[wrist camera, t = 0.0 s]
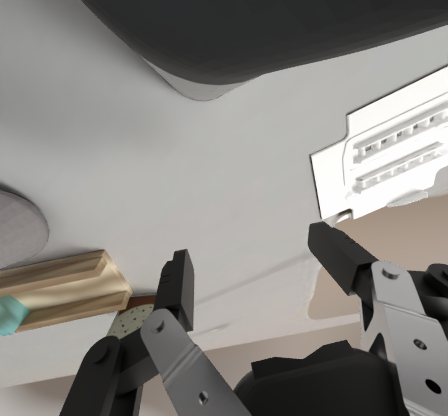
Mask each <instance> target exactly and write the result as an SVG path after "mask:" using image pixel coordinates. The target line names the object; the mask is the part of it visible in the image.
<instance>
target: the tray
mask: <svg viewBox="0 0 448 416" xmlns="http://www.w3.org/2000/svg"><path fill="white" fill-rule="evenodd" d="M433 116H434V117H433ZM431 117H433V120H432V121H430V118H431ZM346 120H347V135H346V137H345V138H344V139H343V140H341V141H339V142H337V143H335V144H333V145H331V146H329V147H327V148H325V149H322V150H320V151H318V152H316V153H314V154H312V155H310V156H311V157H312V163H313V169H314V175H315V181H316V187H317V192H318V198H319V204H320V210H321V215H322V220H323V219H325V218H327V217H330V216H332V215H334V214H337V213H339V212H341V211H343V210H346V209H348V208H351V210H352V213H350V214H347V215H345V216H343V217H341V218H340V219H339V220H338V221H337V222H339V221H342V220H344V219H346V218H351V219H356V218H358V217H361V216H363V215H365V214H368V213H370V212H372V211H375V210H377V209H379V208H382V207H384V206H386V205H388V207H392V206H394V207H395V206H397V205H398V206H401V205H406V204H409V203H410V202H413V201H419V200H421V199H422V198H427V197H428V195H427V194H426V193H428V192H425V191H422V190H425V189H426V188H429V187H431V186H433V183H434V179H435V175H436V173H437V171H438V170H439V169H441V168H442V167H445V166H447V165H448V67H446V68H444V69H441V70H440V71H438V72H435V73H433V74H431V75H429V76H427V77H425V78H423V79H421V80H419V81H417V82H415V83H413V84H411V85H409V86H407V87H405V88H403V89H401V90H399V91H397V92H395V93H393V94H391V95H389V96H386V97H384V98H382V99H380V100H378V101H376V102H374V103H372V104H370V105H368V106H366V107H364V108H362V109H360V110H358V111H356V112H354V113H352V114H350V115H346ZM415 124H417V128H415V129H413V125H415ZM400 131H402V134H401V135H400V136H398V137H397V133H398V132H400ZM385 138H386V142H385V143H383V144H381V140H383V139H385ZM370 145H371V149H370V150H368V151H366V152H365V147H368V146H370ZM433 148H434V149H433ZM417 155H419V156H417ZM404 161H405V162H404ZM402 162H403V163H402ZM389 168H390V169H389ZM358 179H359V180H358ZM361 179H362V181H361ZM419 191H420V192H419ZM423 192H425V193H423ZM412 194H413V195H412ZM424 195H425V196H424ZM405 197H406V198H405ZM398 200H399V201H398ZM396 201H397V202H396ZM389 204H390V205H389Z"/></svg>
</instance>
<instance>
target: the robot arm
mask: <svg viewBox="0 0 448 416" xmlns="http://www.w3.org/2000/svg"><path fill="white" fill-rule="evenodd" d="M81 1H82V2H83V3H84V4H85V5H86V6H87V7H88V8H89V9H90V10H91V11H92V12H93V13H94V14H95V15H96V16H97V17H98V18H99V19H100V20H101V21H102V22H103V23H104V24H105V25H106V26H107V27H108V28H109V29H111V30H112V31H113V32H114V33H115V34H116V35H117V36H118V37H119V38H120V39H122V40H123V41H124V42H125V43H126V44H127V45H128V46H129V47H130V48H131V49H133V50H134V51H135V52H136V53H137V54H138V55H139V56H140V57H141V58H143V59H144V60H145V61H146V62H147V63H148V64H149V65H150V66H151V67H152V68H154V69H155V70H156V71H157V72H158V73H159V74H160V75H161V76H162V77H163V78H164V79H165V80H166V81H167V82H168V83H170V84H171V85H172V86H173V87H174V88H175V89H176V90H177V91H178V92H180V93H181V94H182V95H184V96H186V97H188V98H190V99H193V100H197V101H209V100H213V99H216V98H218V97H220V96H222V95H223V94H225V93H227V92H229V91H231V90H233V89H235V88H237V87H239V86H241V85H243V84H245V83H247V82H249V81H251V80H253V79H255V78H257V77H259V76H261V75H263V74H266V73H270V72H274V71H278V70H283V69H287V68H291V67H295V66H300V65H304V64H309V63H313V62H318V61H322V60H326V59H331V58H335V57H339V56H343V55H347V54H351V53H355V52H359V51H363V50H367V49H370V48H374V47H377V46H381V45H385V44H388V43H391V42H395V41H398V40H401V39H404V38H408V37H411V36H414V35H417V34H421V33H424V32H427V31H430V30H433V29H436V28H439V27H442V26H445V25H448V0H81ZM308 247H309V249H310V251H311V252H312V253H313V255H314V256H315V257H316V258H317V259H318V261H319V262H320V263H321V264H322V265H323V267H324V268H325V269H326V270H327V271H328V273H329V274H330V275H331V276H332V277H333V279H334V280H335V281H336V282H337V283H338V285H339V286H340V287H341V288H342V289H343V291H344V292H345V293H346V294H347V295H348V296H350V295H354V294H357V295H358V296H359V297H360V298H359V312H360V323H361V336H362V337H361V344H360V349H356V348H352V347H351V346H350V344H349V343H348V341H347V340H344V341H340V342H335V343H331V344H327V345H323V346H322V347H320V348H319V349H317V350H316V351H315V352H313V353H312V354H310V355H309V356H307V357H306V358H304V359H292V358H281V357H273V358H269V359H265V360H261V361H256V362H252V363H251V366H252V371H250V372H249V373H247V374H246V375H245V376H244V377H243V378H242V379H241V380H240V382H239V383H238V384H237V386H236V387H235V389H234V390H232V389H231V388H230V386H229V385H228V384H227V382H226V381H225V380H224V379H223V377H222V376H221V375H220V373H219V372H218V371H217V370H216V368H215V367H214V365H213V364H212V363H211V362H210V360H209V359H208V358H207V356H206V355H205V354H204V353H203V351H202V350H201V349H200V347H199V346H198V345H197V344H195V343H194V342H193V341H192V340H191V338H190V337H189V336H188V334H187V332H189V331H193V312H194V269H193V265H192V262H191V259H190V256H189V253H188V250H187V249H184V250H179V251H175V252H174V256H173V260H172V261H167V263H166V264H165V266H164V267H163V269H162V272H161V278H160V281H159V285H158V290H157V294H156V298H155V303H154V307H153V311H152V313H151V314H150V315H149V316H148V317H147V318H146V319H145V321H144V322H143V324H142V326H141V327H140V328H139V329H137V330H135V331H133V332H132V333H130V334H128V335H126V336H124V337H123V338H121V339H118V337H116V336H114V335H110V336H106V337H104V338H102V339H100V340H99V341H98V342H96V343H95V344H94V345H93V346H92V347H91V348H90V349H89V351H88V352H87V353H86V355H85V357H84V359H83V361H82V363H81V365H80V368H79V370H78V373H77V375H76V377H75V380H74V382H73V384H72V387H71V389H70V392H69V394H68V396H67V398H66V401H65V403H64V405H63V408H62V411H61V412H60V415H59V416H138V415H139V409H140V402H141V396H142V390H143V384H144V383H145V382H147V381H148V380H150V379H151V378H153V377H154V376H156V375H158V374H159V373H160V375H161V378H162V380H163V385H164V388H165V390H166V392H167V394H168V396H169V398H170V400H171V402H172V404H173V406H174V408H175V410H176V412H177V414H178V416H448V265H446V264H431V265H430V266H429V267H428V269H427V270H426V272H423V271H407V270H405V269H403V268H402V267H400V266H398V265H396V264H394V263H391V262H386V261H379V260H378V259H377V258H375V257H374V256H373V255H371V254H370V253H369V252H368V251H367V250H365V249H364V248H363V247H361V246H360V245H359V244H358V243H356V242H355V241H354V240H353V239H351V238H350V237H349V236H348V235H346V234H345V233H344V232H343V231H340V230H338V229H336V228H334V227H333V228H331V227H330V226H329V225H328V224H327V223H325V222H323V221H322V222H317V223H312V224H310V227H309V235H308Z"/></svg>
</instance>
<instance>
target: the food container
mask: <svg viewBox="0 0 448 416" xmlns="http://www.w3.org/2000/svg"><path fill="white" fill-rule="evenodd" d="M156 294H157V293H155V294H144V295H133V296H131V297H130V298H129V300H128V303H127V306H126V309H123V310H119V311H118V313H117V315H116V317H115V319H114V321H113V323H112V325H111V327H110V329H109V331H108V333H107V335H106V336H110V335H114V336H116V337H118V339H121V338H123V337H124V336H126V335H128V334H130V333H132V332H133V331H135V330H137V329H139V328H140V327H141V326H142V324H143V322H144V321H145V319H146V318H147V317H148V316H149V315H150V314H151V313H152V311H153V307H154V303H155V298H156Z"/></svg>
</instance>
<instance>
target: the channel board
mask: <svg viewBox="0 0 448 416" xmlns="http://www.w3.org/2000/svg"><path fill="white" fill-rule="evenodd" d="M132 292H133V291H132V289H131V288H130V286H129V285H128V283H127V282H126V280H125V279H124V277H123V276H122V274H121V273H120V271H119V270H118V268H117V267H116V266H115V264H114V263H113V261H112V260H111V258H110V257H109V255H108V254H107V252H106V251H105V250H102V251H97V252H92V253H87V254H82V255H77V256H72V257H67V258H62V259H57V260H52V261H47V262H42V263H37V264H32V265H27V266H22V267H17V268H12V269H7V270H2V271H0V335H2V336H6V335H10V334H13V333H14V332H15V333H18V332H22V331H27V330H31V329H36V328H41V327H45V326H50V325H54V324H59V323H64V322H68V321H73V320H77V319H82V318H87V317H91V316H96V315H100V314H105V313H110V312H114V311H119V310H123V309H126V306H127V303H128V300H129V298H130V297H131V295H132Z"/></svg>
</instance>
